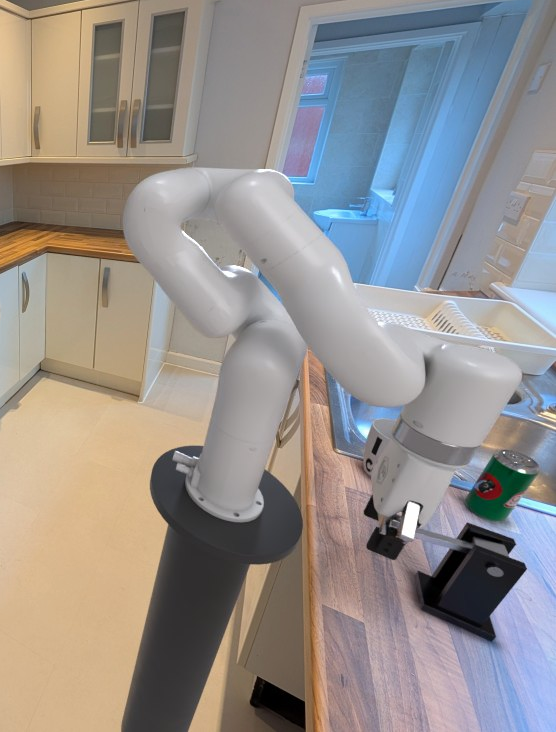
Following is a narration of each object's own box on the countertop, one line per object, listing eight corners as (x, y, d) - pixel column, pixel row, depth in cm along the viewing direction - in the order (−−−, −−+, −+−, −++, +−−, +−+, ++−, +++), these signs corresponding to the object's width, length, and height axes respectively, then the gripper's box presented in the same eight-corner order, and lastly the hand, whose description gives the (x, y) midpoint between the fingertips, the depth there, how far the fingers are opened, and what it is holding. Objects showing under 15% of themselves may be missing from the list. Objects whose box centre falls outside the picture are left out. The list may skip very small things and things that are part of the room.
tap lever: (379, 544, 59) (382, 530, 58) (375, 514, 63) (378, 501, 62) (509, 584, 52) (515, 570, 51) (495, 547, 56) (500, 534, 55)
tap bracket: (420, 609, 59) (462, 547, 53) (414, 575, 63) (452, 514, 58) (492, 642, 55) (545, 578, 50) (480, 603, 60) (527, 541, 54)
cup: (349, 471, 82) (367, 430, 78) (359, 452, 87) (377, 412, 83) (403, 497, 76) (427, 454, 72) (411, 474, 81) (433, 433, 77)
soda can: (502, 528, 70) (540, 474, 65) (460, 508, 74) (493, 456, 69) (507, 513, 73) (544, 460, 68) (466, 494, 77) (499, 443, 72)
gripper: (388, 395, 62) (344, 485, 70) (402, 466, 49) (347, 567, 57) (458, 414, 58) (404, 507, 66) (493, 497, 45) (421, 600, 53)
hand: (378, 534), depth 61 cm, fingers closed on tap lever, 6 cm apart
